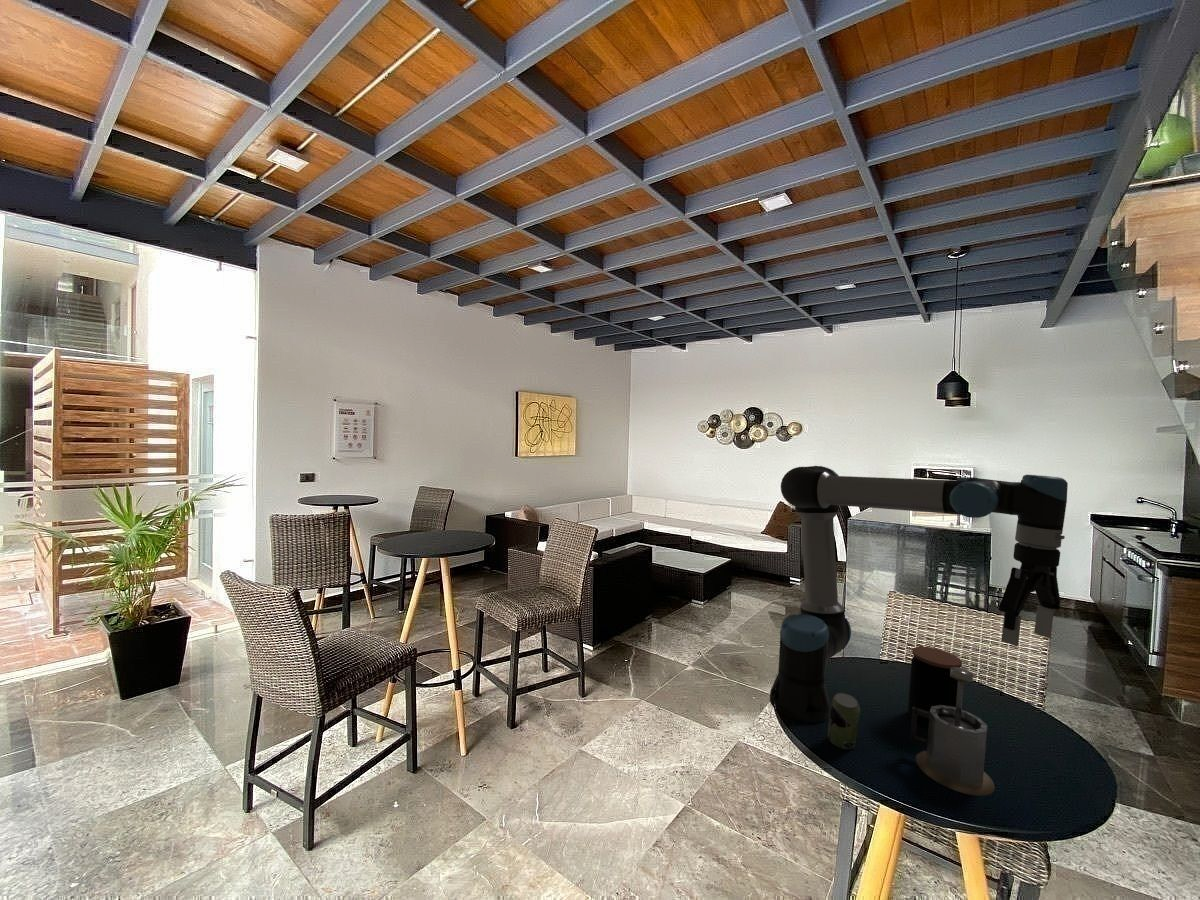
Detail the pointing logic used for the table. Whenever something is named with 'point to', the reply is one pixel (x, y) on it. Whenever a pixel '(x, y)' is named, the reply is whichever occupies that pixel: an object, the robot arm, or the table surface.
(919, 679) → the coffee jar
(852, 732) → the beverage can
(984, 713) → the table surface
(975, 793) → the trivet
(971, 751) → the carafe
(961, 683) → the plunger
